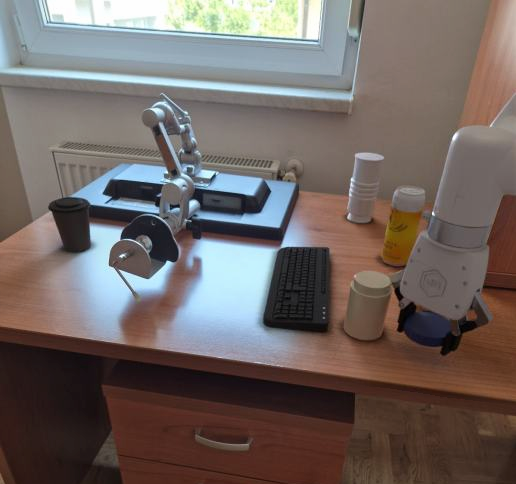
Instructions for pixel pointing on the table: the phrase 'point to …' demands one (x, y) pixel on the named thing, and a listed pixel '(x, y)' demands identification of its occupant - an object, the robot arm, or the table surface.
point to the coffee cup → (72, 222)
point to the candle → (364, 186)
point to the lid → (426, 328)
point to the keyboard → (299, 290)
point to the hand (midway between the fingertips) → (425, 339)
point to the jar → (367, 305)
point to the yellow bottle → (403, 225)
